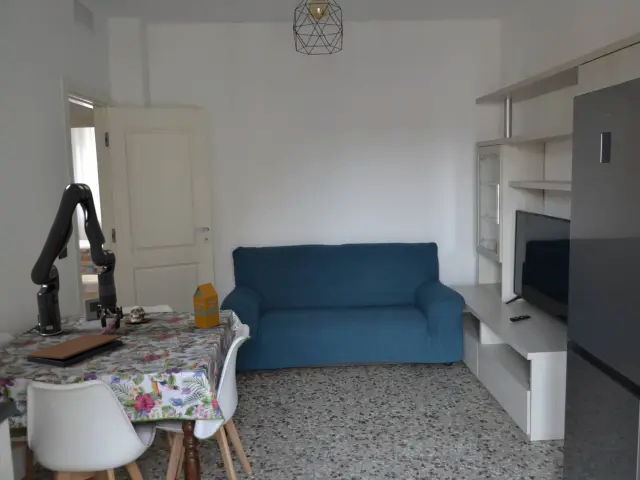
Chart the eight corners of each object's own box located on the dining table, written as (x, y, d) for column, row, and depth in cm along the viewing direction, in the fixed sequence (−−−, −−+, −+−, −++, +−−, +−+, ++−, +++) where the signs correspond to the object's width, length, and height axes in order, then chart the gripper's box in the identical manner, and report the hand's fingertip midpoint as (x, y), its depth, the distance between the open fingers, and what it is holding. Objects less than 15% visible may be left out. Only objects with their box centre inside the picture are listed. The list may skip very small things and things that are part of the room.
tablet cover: (121, 337, 244) (121, 335, 244) (63, 359, 218) (62, 357, 218) (87, 336, 254) (87, 334, 254) (27, 356, 227) (26, 354, 227)
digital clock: (83, 321, 289) (81, 300, 287) (86, 317, 297) (84, 297, 296) (116, 318, 292) (115, 297, 291) (119, 314, 301) (117, 294, 300)
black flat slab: (122, 344, 245) (122, 340, 245) (63, 367, 218) (63, 362, 218) (87, 339, 254) (87, 335, 254) (27, 361, 228) (27, 356, 227)
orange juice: (219, 324, 272) (217, 283, 269) (207, 328, 264) (204, 286, 262) (207, 322, 276) (205, 281, 273) (194, 326, 268) (191, 285, 266)
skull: (148, 321, 277) (132, 307, 276) (133, 336, 278) (118, 321, 277) (154, 314, 289) (139, 301, 288) (140, 328, 290) (126, 315, 289)
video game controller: (106, 340, 257) (111, 327, 255) (98, 336, 257) (103, 323, 256) (118, 334, 266) (123, 321, 265) (110, 330, 267) (115, 317, 266)
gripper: (125, 292, 259) (128, 326, 261) (102, 291, 266) (106, 324, 268) (112, 295, 253) (116, 331, 255) (89, 294, 259) (93, 328, 261)
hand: (111, 327), depth 261 cm, fingers open, 8 cm apart
